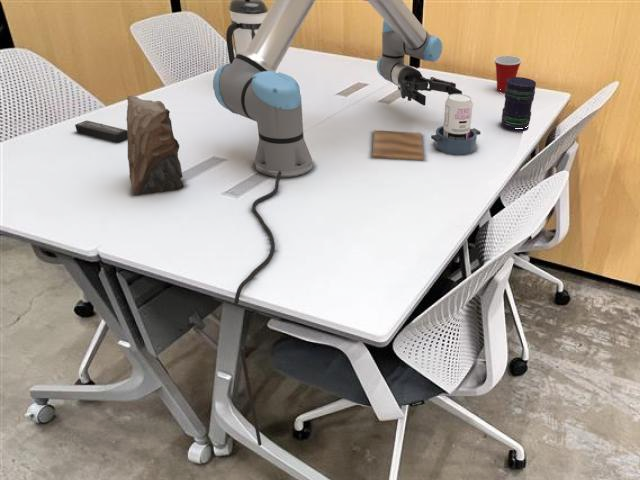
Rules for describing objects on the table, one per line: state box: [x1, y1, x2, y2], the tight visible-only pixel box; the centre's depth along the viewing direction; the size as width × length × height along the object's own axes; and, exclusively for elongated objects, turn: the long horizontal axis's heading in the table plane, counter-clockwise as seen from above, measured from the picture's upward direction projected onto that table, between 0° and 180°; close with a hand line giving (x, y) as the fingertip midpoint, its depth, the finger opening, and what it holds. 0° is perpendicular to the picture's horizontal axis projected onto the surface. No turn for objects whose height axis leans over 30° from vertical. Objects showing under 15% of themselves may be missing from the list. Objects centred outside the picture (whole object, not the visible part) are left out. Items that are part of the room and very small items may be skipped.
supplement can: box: [443, 93, 474, 139], centre depth 178 cm, size 8×8×15 cm
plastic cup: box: [493, 55, 523, 94], centre depth 228 cm, size 11×11×12 cm
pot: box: [430, 125, 482, 156], centre depth 182 cm, size 13×17×4 cm
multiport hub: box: [74, 120, 128, 144], centre depth 166 cm, size 4×14×2 cm, turn 71°
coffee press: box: [225, 0, 269, 64], centre depth 203 cm, size 17×16×30 cm
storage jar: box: [500, 76, 537, 133], centre depth 197 cm, size 10×10×15 cm
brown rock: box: [125, 95, 185, 196], centre depth 141 cm, size 13×13×20 cm
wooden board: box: [371, 129, 424, 161], centre depth 179 cm, size 20×15×1 cm
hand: (443, 98), depth 181 cm, fingers open, 13 cm apart
